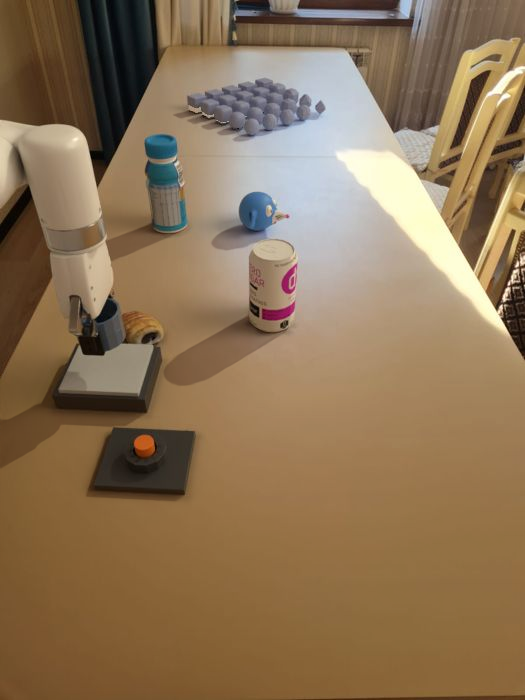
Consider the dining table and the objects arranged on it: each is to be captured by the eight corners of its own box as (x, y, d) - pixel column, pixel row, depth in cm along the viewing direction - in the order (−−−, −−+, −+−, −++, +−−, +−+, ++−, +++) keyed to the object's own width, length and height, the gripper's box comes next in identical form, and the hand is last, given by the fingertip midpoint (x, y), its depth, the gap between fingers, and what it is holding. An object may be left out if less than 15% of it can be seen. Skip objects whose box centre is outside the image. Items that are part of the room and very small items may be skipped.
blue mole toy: (281, 246, 119) (282, 211, 114) (231, 236, 122) (229, 202, 117) (296, 221, 128) (298, 188, 122) (249, 213, 131) (248, 180, 125)
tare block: (95, 490, 72) (90, 477, 70) (114, 432, 79) (110, 418, 77) (184, 495, 71) (183, 481, 69) (195, 436, 79) (194, 422, 77)
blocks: (264, 91, 204) (264, 77, 201) (329, 115, 185) (331, 100, 181) (187, 110, 187) (186, 95, 184) (250, 139, 168) (250, 122, 164)
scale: (56, 409, 82) (50, 391, 80) (80, 356, 91) (75, 339, 89) (147, 413, 82) (143, 395, 80) (162, 360, 91) (159, 342, 89)
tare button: (133, 457, 73) (131, 449, 71) (138, 442, 74) (136, 434, 73) (152, 458, 72) (151, 450, 71) (156, 443, 74) (155, 435, 73)
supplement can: (301, 315, 101) (306, 244, 91) (280, 340, 95) (283, 267, 85) (264, 302, 104) (265, 232, 94) (241, 325, 98) (239, 253, 88)
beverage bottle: (164, 238, 121) (153, 150, 108) (144, 224, 126) (132, 137, 113) (195, 227, 125) (188, 140, 112) (175, 213, 130) (166, 129, 117)
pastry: (111, 327, 97) (107, 310, 95) (144, 313, 101) (142, 297, 98) (134, 355, 92) (131, 337, 89) (169, 340, 95) (167, 323, 92)
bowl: (73, 354, 78) (64, 324, 75) (87, 325, 83) (79, 296, 80) (119, 356, 78) (112, 326, 74) (130, 326, 83) (124, 297, 80)
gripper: (67, 198, 75) (93, 301, 87) (19, 266, 62) (57, 376, 74) (120, 199, 75) (139, 303, 87) (83, 268, 62) (111, 379, 74)
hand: (101, 336), depth 80 cm, fingers closed on bowl, 6 cm apart
